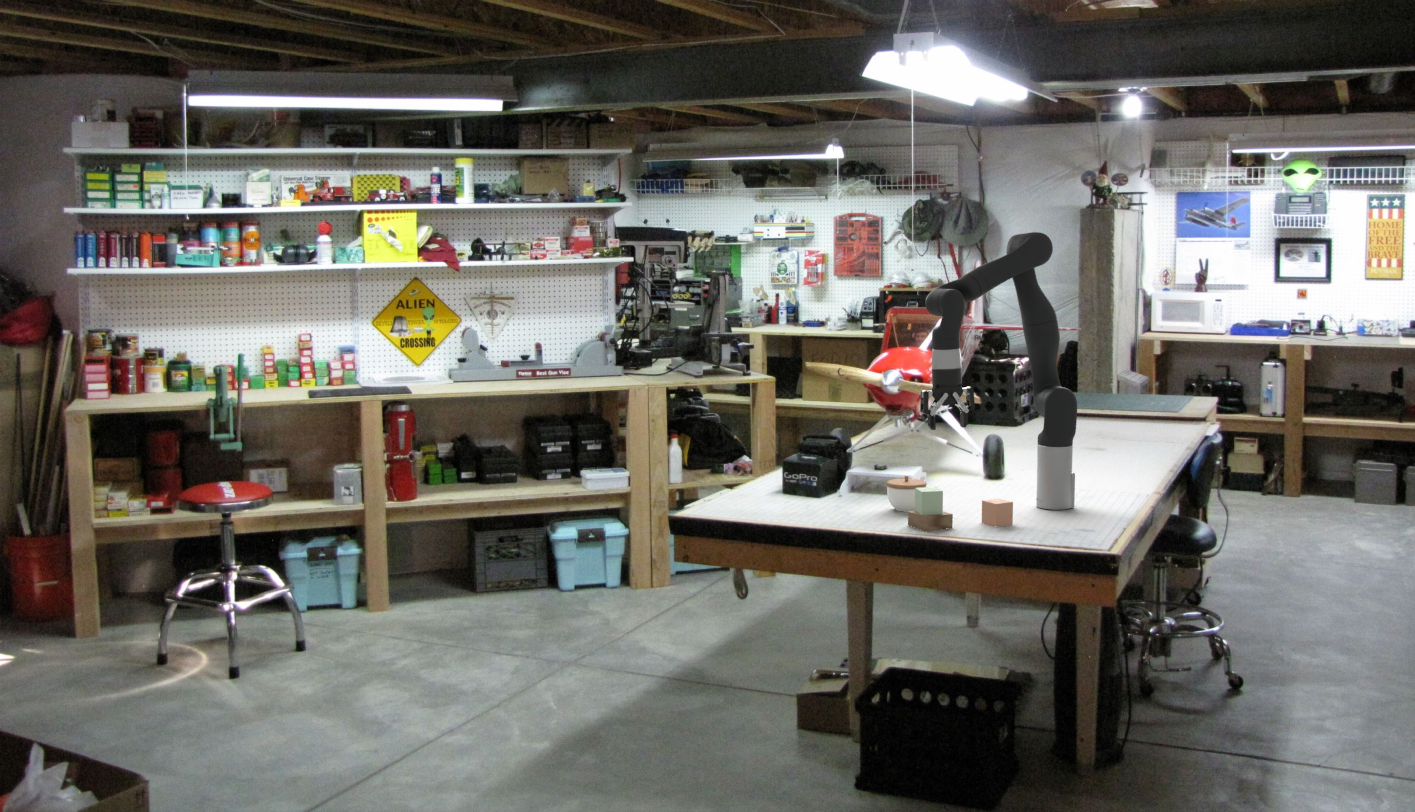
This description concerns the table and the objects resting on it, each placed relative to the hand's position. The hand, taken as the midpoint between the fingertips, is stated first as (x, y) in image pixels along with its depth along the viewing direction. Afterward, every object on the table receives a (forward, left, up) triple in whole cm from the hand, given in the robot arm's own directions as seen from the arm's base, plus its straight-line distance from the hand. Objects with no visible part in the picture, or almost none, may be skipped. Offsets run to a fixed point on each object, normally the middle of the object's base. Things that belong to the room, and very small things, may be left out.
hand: (948, 428), depth 319 cm
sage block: (+8, +7, -21) cm, 23 cm away
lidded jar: (+6, -15, -24) cm, 29 cm away
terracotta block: (-10, +8, -24) cm, 28 cm away
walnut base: (+8, +7, -25) cm, 27 cm away
